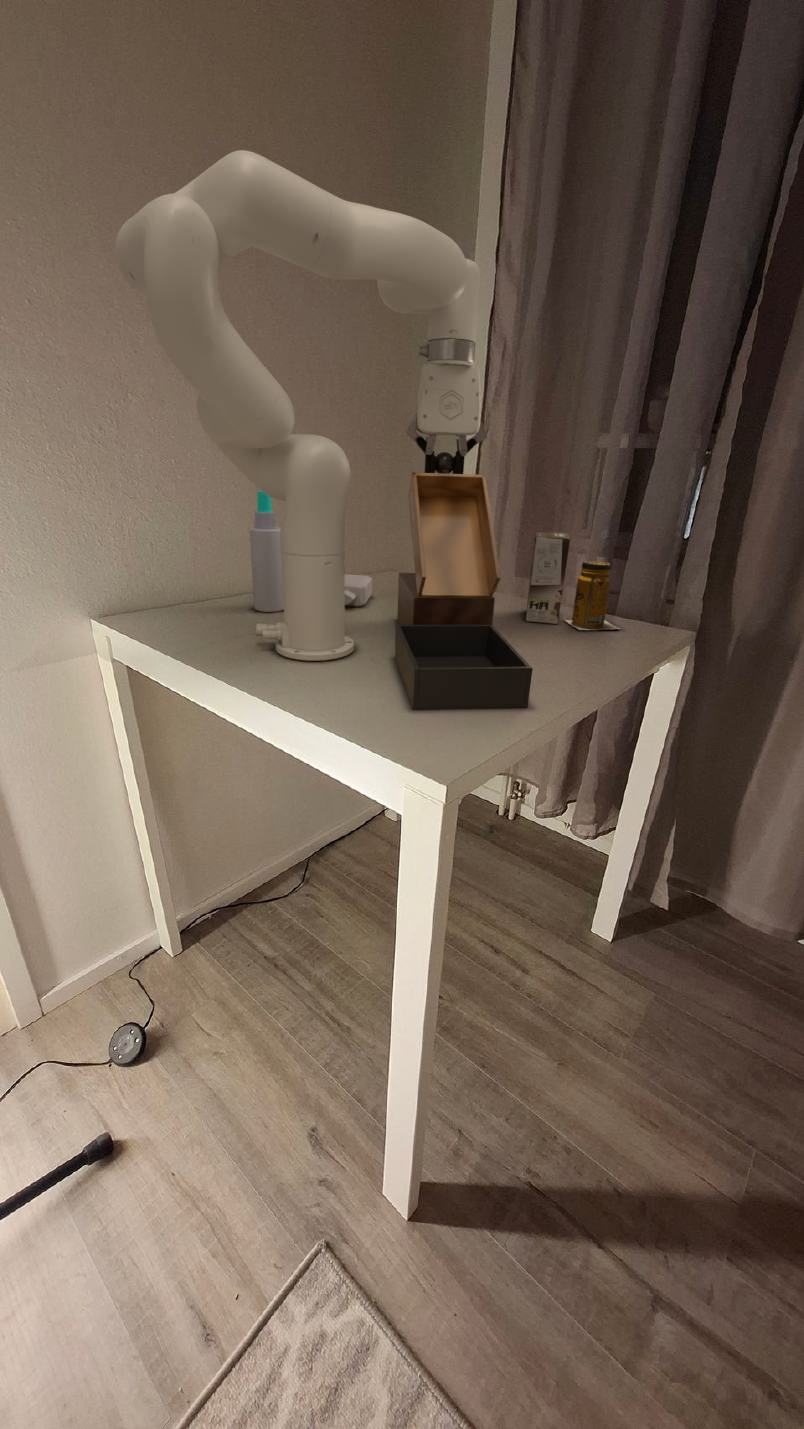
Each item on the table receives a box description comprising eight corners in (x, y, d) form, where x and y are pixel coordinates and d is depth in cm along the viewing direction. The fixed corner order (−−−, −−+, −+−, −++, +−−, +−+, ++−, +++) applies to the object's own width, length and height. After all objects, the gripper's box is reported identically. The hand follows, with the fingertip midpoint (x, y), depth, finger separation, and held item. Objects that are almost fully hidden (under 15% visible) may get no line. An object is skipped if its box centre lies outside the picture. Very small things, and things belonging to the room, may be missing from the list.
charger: (314, 611, 121) (330, 595, 135) (360, 614, 120) (371, 597, 134) (313, 588, 119) (329, 573, 133) (360, 590, 118) (372, 575, 132)
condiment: (563, 620, 122) (572, 559, 117) (603, 620, 123) (614, 559, 118) (579, 631, 115) (589, 566, 110) (621, 630, 116) (632, 566, 112)
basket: (412, 709, 78) (414, 669, 76) (394, 658, 97) (395, 624, 94) (527, 707, 80) (532, 668, 78) (488, 657, 99) (492, 624, 96)
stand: (411, 652, 100) (414, 597, 96) (397, 619, 118) (398, 572, 114) (489, 652, 101) (494, 598, 98) (463, 619, 119) (467, 573, 116)
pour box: (473, 469, 107) (480, 445, 102) (492, 597, 98) (500, 578, 93) (405, 467, 106) (409, 442, 101) (417, 597, 96) (422, 577, 91)
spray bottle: (291, 609, 122) (287, 492, 114) (268, 614, 118) (261, 493, 109) (271, 603, 126) (265, 489, 117) (247, 608, 121) (240, 490, 112)
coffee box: (558, 624, 119) (571, 538, 112) (525, 621, 120) (535, 536, 113) (557, 613, 127) (568, 532, 120) (525, 610, 128) (535, 530, 121)
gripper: (401, 350, 92) (397, 480, 100) (508, 356, 94) (496, 483, 102) (395, 356, 99) (392, 478, 106) (495, 362, 101) (485, 481, 108)
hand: (443, 479), depth 104 cm, fingers closed on pour box, 3 cm apart
